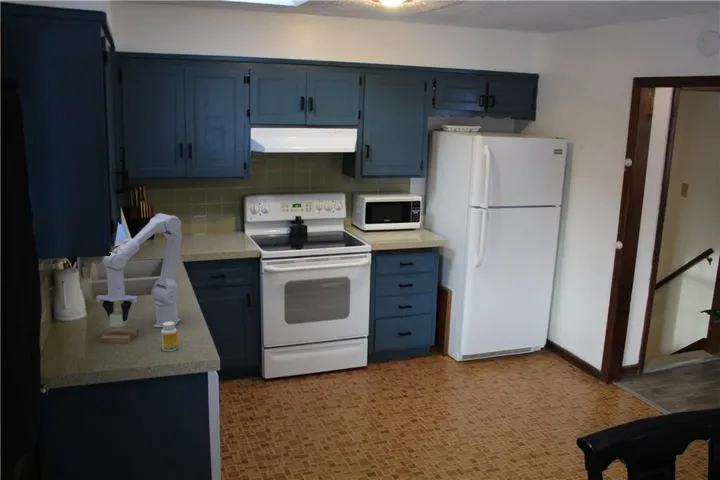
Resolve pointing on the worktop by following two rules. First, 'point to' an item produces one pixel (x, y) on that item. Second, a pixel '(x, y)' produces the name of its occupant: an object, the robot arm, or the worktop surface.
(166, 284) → the robot arm
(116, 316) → the sage block
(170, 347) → the supplement bottle
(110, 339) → the brown square pad
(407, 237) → the worktop surface
